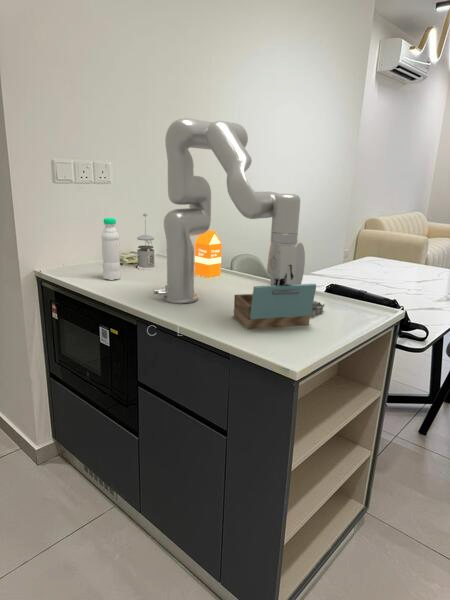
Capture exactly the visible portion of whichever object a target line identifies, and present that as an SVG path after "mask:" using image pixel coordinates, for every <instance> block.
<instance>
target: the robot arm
mask: <svg viewBox="0 0 450 600" xmlns="http://www.w3.org/2000/svg"><path fill="white" fill-rule="evenodd" d="M248 140H249V136H248V133H247V130H246V129H245V127H244V126H242V125H241V124H239V123H235V122H231V121H224V120H218V121H213V122H212V121H206V120H200V119H195V118H178V119H176V120H174V121H172V123H171V124H170V125H169V126H168V128H167V130H166V134H165V151H166V159H167V194H168V199H169V201H170V202H171V203H172V204H174V205H177V206H178V205H179V206H181V205H182V206H183V205H189V206H188V207H189V208H175V209H173V210H170V211H169V212H167V214H166V215H165V216H164V218H163V229H164V230H163V231H164V235H165V241H166V284H165V285H164V287H162V288H153V295H158V296H162V300H163V301H164V302H166V303H170V304H191V303H194V302H195V303H196V302H197V300H199V295H198V294H197V293H195V245H194V244H193V242H192V239H191V237H193V236H195V237H197V236H199V235H202V234H204V233H206V232H207V231H208V230H210V226H211V221H212V189H211V185H210V183H209V181H207V179H206V178H205V177H203V176H199V175H195V173H194V160H193V157H192V154H191V152H190V150H189V149H190V148H191V149H200V150H211V151H212V152H213V154H214V156H215V158H217V160H218V162H219V164H220V165H221V167H222V168H223V171H224V172H225V173H226V188H227V193H228V195H229V198H230V199H231V202H232V203H233V204H234V206H235V208H236V209H237V211H238V212H239V213H240V214H241V215H242V216H243V217H245V218H246V219H249V220H259V219H268V218H271V228H270V229H271V230H270V247H269V251H268V255H267V256H268V259H267V267H266V268H267V269H266V272H267V274H268V275H269V276H270V277H271V276H272V277H273V278H274V285H290V284H291V279H293V278H294V276H295V267H296V245H297V241H298V237H299V234H298V233H299V223H300V211H301V197H300V196H299V194H293V193H279V192H274V191H255V190H254V189H253V188H252V186H251V184H250V183H249V181H248V180H247V177H246V174H245V173H246V172H247V171H248V170H249V168H250V166H251V165H252V156H251V155H250V154H249V153H248V151H247V149H246V147H247V145H248Z"/></svg>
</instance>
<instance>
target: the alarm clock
mask: <svg viewBox="0 0 450 600" xmlns="http://www.w3.org/2000/svg"><path fill="white" fill-rule="evenodd" d="M305 252H306V251H305V246H304V243H302V242H300V241H299V240H297V245H296V267H295V276H294V278H293V279H291V284H290V285H294V284H302V281H303V278H304V273H305V267H306V266H305V264H306V254H305ZM271 285H274V278H273V277H272V276H271V275H270V286H271Z"/></svg>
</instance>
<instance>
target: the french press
mask: <svg viewBox="0 0 450 600" xmlns="http://www.w3.org/2000/svg"><path fill="white" fill-rule="evenodd" d="M142 216H143V217H148V214H147V213H145V212H144V213H143V215H142ZM146 223H147V222H146V220H144V226H145V228H144V234H142V235H139V236H137V237H136V239H137V240H138V241H144V242H145V245H139V246H137V248H138V249H137V255H136V256H137V265H138V266H139V267H142V268H154V267H155V266H156V265H155V249H154V246H153V245H150V243H151V244H153V241H154V240H155V237H154V236H152V235H149V234H147V228H146ZM147 244H148V245H147Z"/></svg>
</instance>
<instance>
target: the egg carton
mask: <svg viewBox="0 0 450 600" xmlns="http://www.w3.org/2000/svg"><path fill="white" fill-rule="evenodd" d="M324 308H325V303H323V304H322V303H321V302H320V301H319V302H318V301H316V300H314V301H313V306H312V312H311V315H310V319H311V318H313V319H314V318H315V316H318V315H319V314H323V313H324V312H323V311H324Z"/></svg>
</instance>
